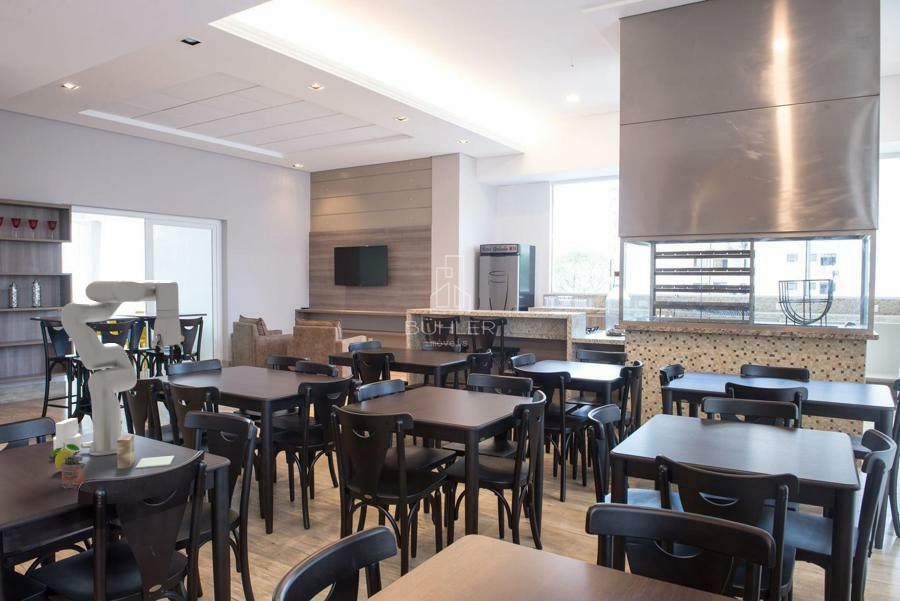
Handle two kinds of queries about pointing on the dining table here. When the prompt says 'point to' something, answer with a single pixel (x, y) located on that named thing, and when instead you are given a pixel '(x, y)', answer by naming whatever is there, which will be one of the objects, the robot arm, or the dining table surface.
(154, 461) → the pale green square plate
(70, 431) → the cylinder with rectangular tab
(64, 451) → the lemon
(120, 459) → the maple block
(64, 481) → the small potted plant
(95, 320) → the robot arm
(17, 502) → the dining table surface
